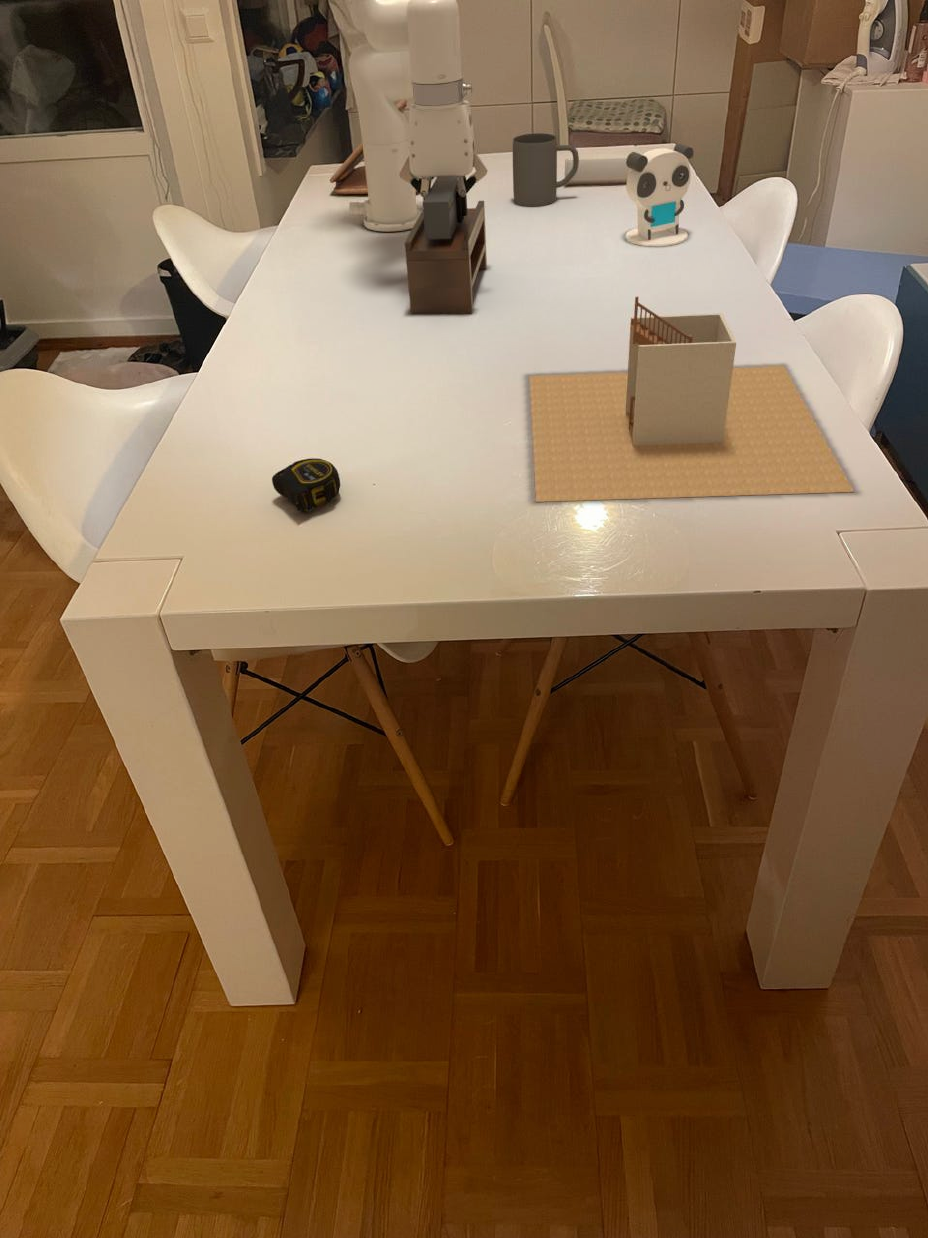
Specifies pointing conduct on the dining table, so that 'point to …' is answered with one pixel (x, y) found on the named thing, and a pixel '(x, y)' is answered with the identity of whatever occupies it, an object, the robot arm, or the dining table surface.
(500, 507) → the dining table surface
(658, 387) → the staircase
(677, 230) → the panda standee
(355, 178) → the case
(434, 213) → the case
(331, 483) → the tape measure
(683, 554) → the dining table surface
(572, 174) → the mug
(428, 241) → the shelf
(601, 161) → the tube
